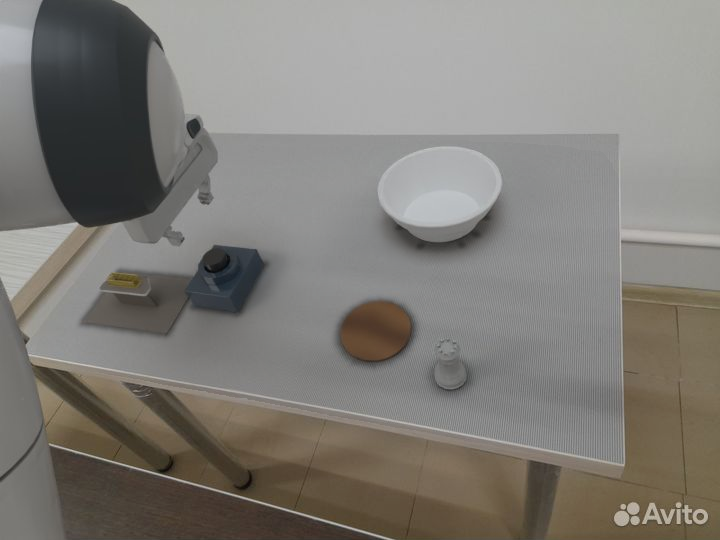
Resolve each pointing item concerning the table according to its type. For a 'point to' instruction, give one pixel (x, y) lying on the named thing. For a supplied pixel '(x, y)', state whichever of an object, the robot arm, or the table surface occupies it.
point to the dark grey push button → (215, 260)
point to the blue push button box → (226, 280)
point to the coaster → (375, 331)
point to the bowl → (440, 191)
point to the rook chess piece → (449, 365)
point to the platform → (139, 302)
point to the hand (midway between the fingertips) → (193, 221)
